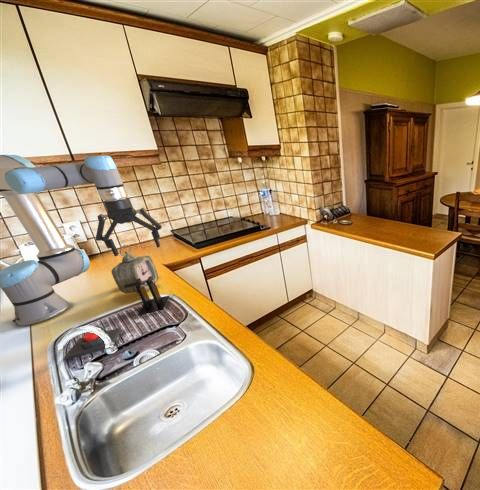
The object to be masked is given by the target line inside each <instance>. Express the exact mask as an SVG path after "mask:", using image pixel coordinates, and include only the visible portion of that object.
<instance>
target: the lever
mask: <svg viewBox="0 0 480 490" xmlns="http://www.w3.org/2000/svg"><path fill="white" fill-rule="evenodd" d="M146 281H147V280H144V281H140V282H135V283H131V284H126V285H124V287H125V288H129V287H134V286H139V285H140V286H141V287H145V286H148V285H147V282H146Z"/></svg>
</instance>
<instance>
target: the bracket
mask: <svg viewBox="0 0 480 490" xmlns="http://www.w3.org/2000/svg"><path fill="white" fill-rule="evenodd" d="M140 281H141V278H140V279H137V280H136V282H140ZM146 282H147V285H148V287H149V292H150V294H151V296H152V299H150V296H149V294H148V292H147V291H146V290H145V287H141V286H140V285H139V286H135V287H136V289H137V291H138V292H137V293H139V294H138V296H139V297H140V300H141V302H142V304H143V306H142V307H141V308H140V310H139V312H138V313H137V317H139V316H140V317H141V316H144V315H148V314H152V313H155V312H159V311H160V312H161V311H163V310H164V309H165V307H166V305H167V303H168V301H169V299H170V295H165V296H161V294H160V292H159V289H158V286H156V284H157V283H155V282H154V280H153V277H152V276H149V278H148V279H147V281H146Z"/></svg>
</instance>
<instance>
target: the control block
mask: <svg viewBox="0 0 480 490" xmlns="http://www.w3.org/2000/svg"><path fill="white" fill-rule="evenodd" d="M122 331H123V329H122V327H117V328H114V329H110V330H106V331H105V332H106V333H107V334H108V335H109V336H110V338H111V340H112V341H113V342H114V343H115V342H116V341H117V339H118V338H119V336H120V334H121V333H122ZM103 350H106V349H105V344H104V341H103V340H102V339H101V338H100V337H97V338H96V339H94V340H92V341H89V342H85V340H84V338H83V337H79V338H78V339H77V340H76V342H75V343H74V344H73V345H72V347H71V348H70V349H69V350H68V351H67V353H66V354H65V355H64V357H63V358H64V360H65V361H68V360H70V359H75V358H78V357H81V356H85V355H88V354H92V353H96V352H99V351H103Z"/></svg>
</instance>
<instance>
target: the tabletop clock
mask: <svg viewBox="0 0 480 490" xmlns="http://www.w3.org/2000/svg"><path fill="white" fill-rule="evenodd" d="M125 247H128V248H129V250H128V251H127V250H125V252H124V254H123V253H122V250H123V249H125ZM131 247H132V246H130V244H124V245H122V246H121V247H120V249H119V254H120V256H122V259H121V262H119V263H118V264H116V265H115V266H113V268H112V269H111V275H112V278H113V280H114V283H115V284H116V286H117V288H118V290H119V291H120V292H121V293H123V294H125V295H128V294H135V293H136V294H137V295H139V293H138V291H137V289H136V287H135V286H134V287H129V288H125V287H124V285H126V284H131V283H135V282H136V280H137V279H140V278H141V281H144V280H147V279H148V278H149V276H152V277H153V280H154V282H155V284H156V287H158V286H159V284H157V283H158V281H159V274H158V271H157V268H156V265H155V263H154V261H153V260H152V258H151V257H150V255H141V256H136V255H135V254H130V253H131V252H132V248H131ZM145 290H146V292H147V291H150V289H149V287H148V286H145Z"/></svg>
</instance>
